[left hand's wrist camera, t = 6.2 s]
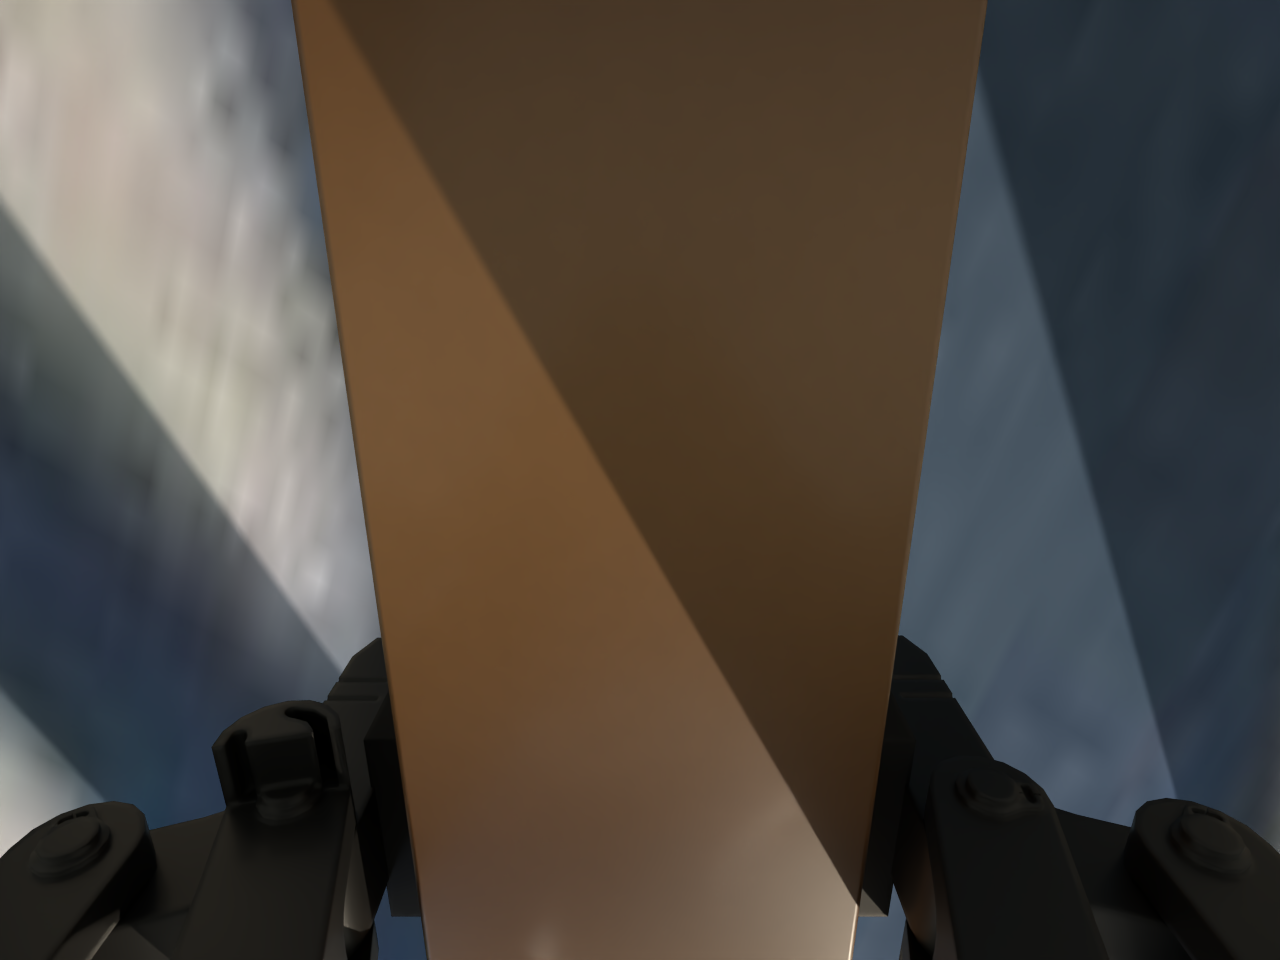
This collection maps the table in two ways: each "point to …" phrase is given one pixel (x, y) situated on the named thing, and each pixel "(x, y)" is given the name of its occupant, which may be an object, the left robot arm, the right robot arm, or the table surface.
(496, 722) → the bar
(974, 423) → the table surface
